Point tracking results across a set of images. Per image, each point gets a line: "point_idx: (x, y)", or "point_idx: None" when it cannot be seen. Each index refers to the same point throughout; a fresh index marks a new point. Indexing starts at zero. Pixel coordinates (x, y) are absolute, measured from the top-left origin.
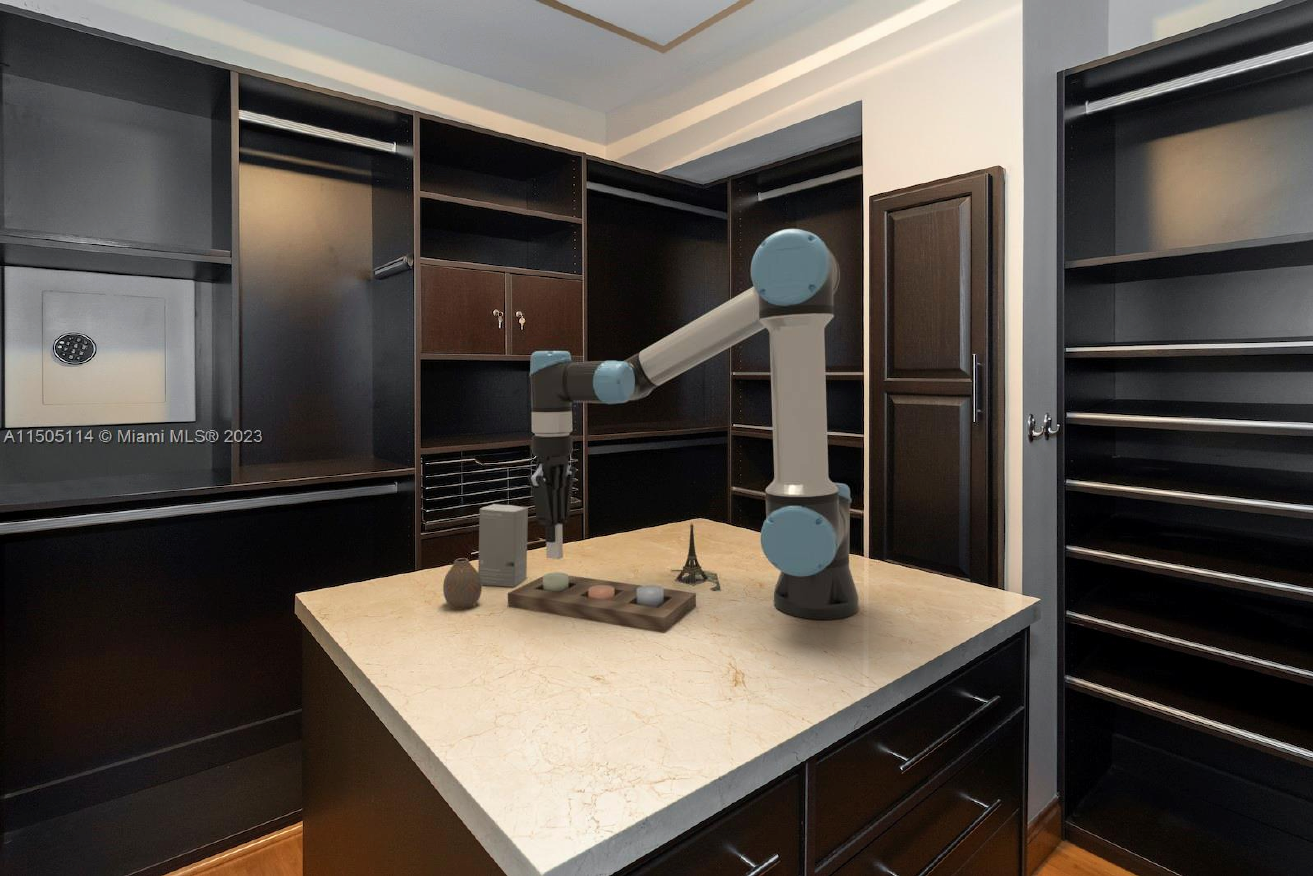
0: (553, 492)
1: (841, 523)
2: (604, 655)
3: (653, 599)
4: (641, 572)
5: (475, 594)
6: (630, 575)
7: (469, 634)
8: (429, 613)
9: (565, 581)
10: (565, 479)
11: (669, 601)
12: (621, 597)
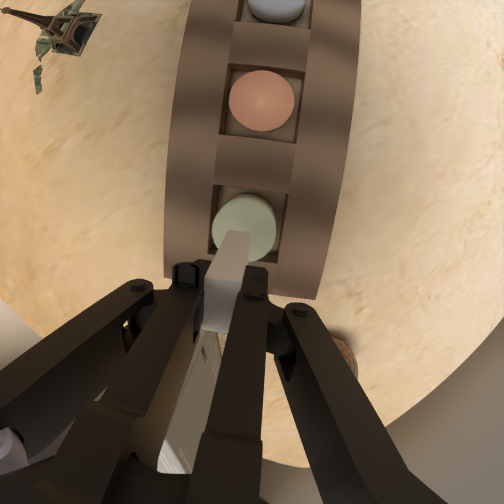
0: (256, 425)
1: None
2: (459, 54)
3: None
4: (55, 134)
5: (337, 343)
6: (72, 143)
7: (433, 278)
8: (358, 369)
9: (251, 200)
10: (71, 444)
11: None
12: (278, 49)
